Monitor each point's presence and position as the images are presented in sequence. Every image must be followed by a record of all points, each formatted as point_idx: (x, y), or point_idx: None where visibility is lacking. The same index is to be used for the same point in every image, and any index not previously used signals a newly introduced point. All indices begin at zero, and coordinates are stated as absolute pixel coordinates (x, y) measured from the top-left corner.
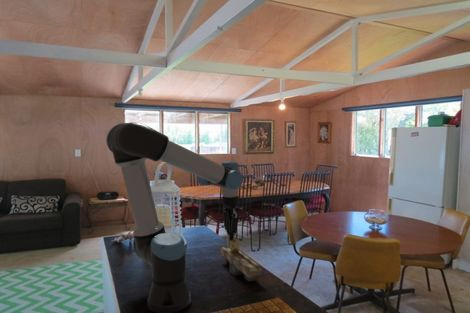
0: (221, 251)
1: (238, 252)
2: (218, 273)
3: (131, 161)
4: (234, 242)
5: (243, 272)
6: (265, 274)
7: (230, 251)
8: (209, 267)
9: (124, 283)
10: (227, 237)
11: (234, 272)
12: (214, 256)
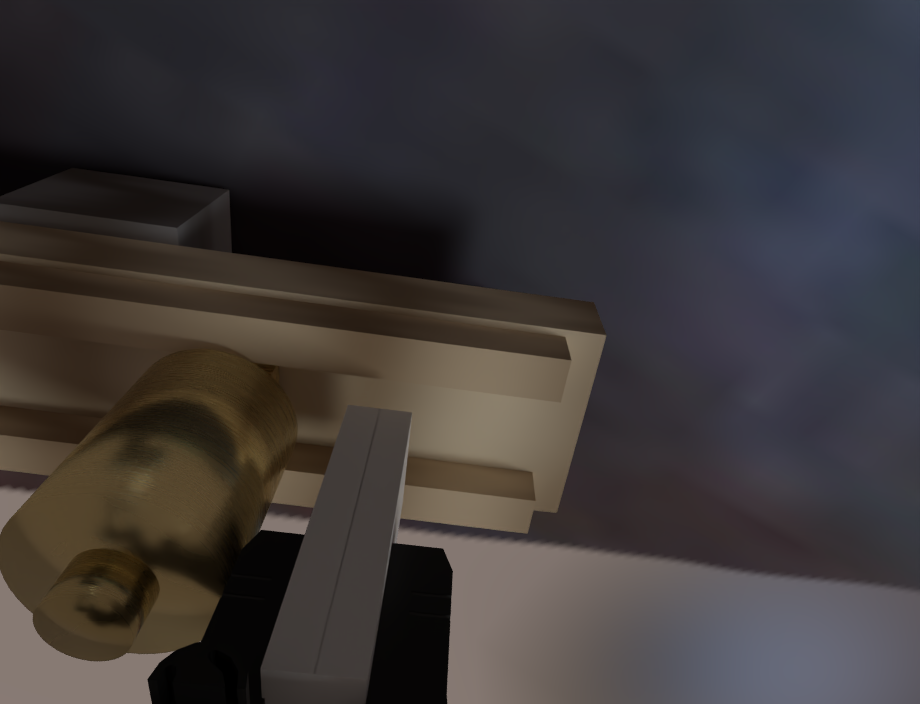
0: (554, 319)
1: None
2: (247, 23)
3: None
4: (7, 525)
5: None
6: None
7: (204, 357)
8: (517, 15)
9: None
10: (359, 567)
11: (44, 180)
12: (812, 290)
